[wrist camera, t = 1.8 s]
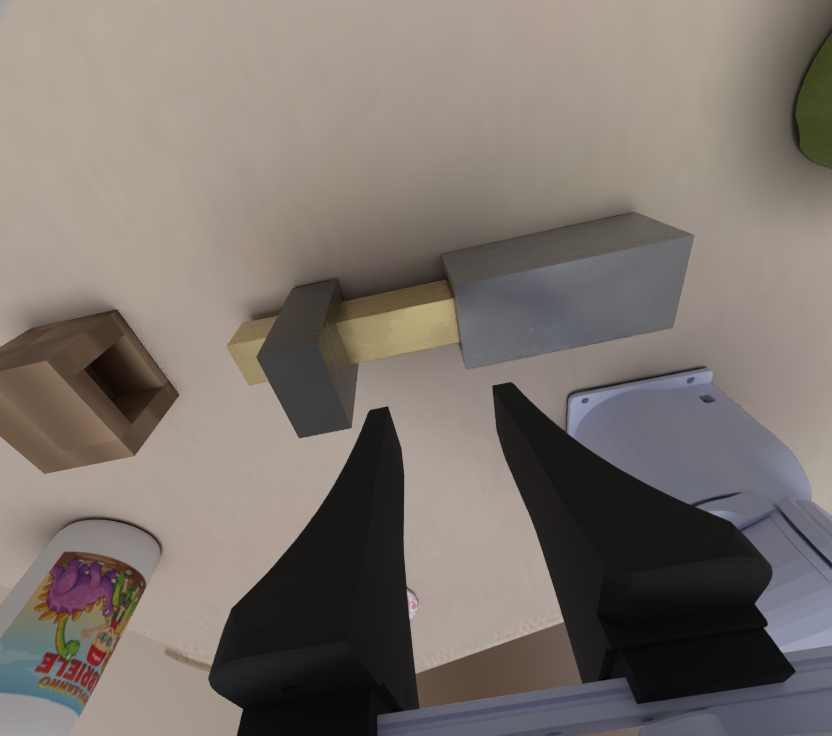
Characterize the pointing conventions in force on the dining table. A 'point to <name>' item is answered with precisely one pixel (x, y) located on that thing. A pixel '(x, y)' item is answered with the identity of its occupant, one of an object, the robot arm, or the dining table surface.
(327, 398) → the grey-banded wooden bar
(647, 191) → the dining table surface
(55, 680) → the milk bottle
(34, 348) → the socket
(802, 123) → the plant pot
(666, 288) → the sleeve
